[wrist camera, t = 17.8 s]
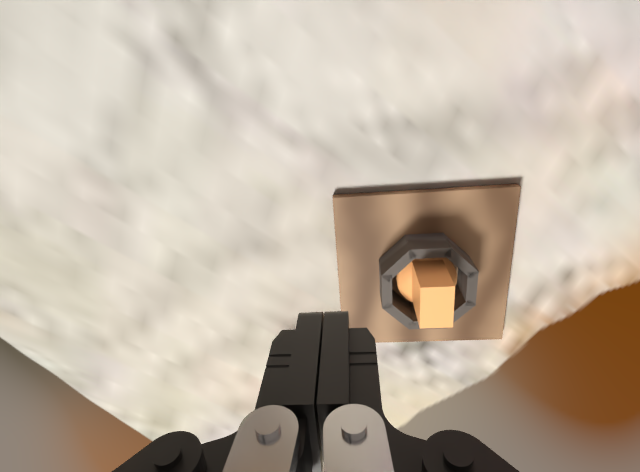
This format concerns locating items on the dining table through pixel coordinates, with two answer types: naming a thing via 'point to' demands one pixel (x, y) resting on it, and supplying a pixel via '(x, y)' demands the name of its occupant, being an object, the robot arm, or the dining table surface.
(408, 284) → the peach knob
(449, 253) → the square base with nut
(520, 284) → the dining table surface
